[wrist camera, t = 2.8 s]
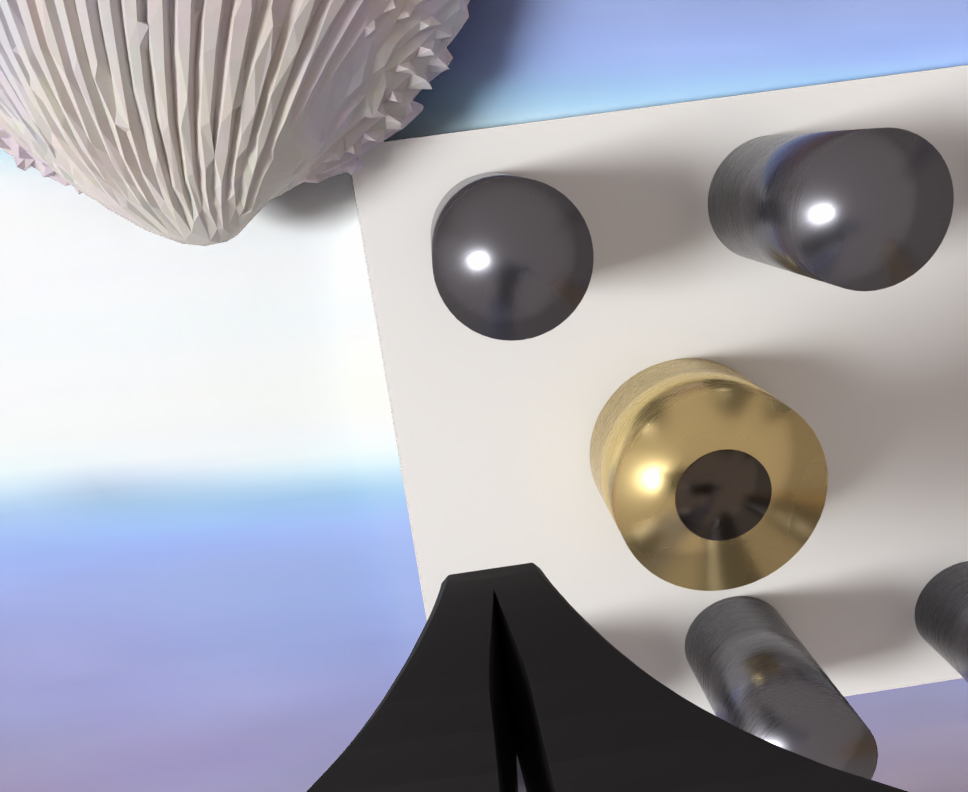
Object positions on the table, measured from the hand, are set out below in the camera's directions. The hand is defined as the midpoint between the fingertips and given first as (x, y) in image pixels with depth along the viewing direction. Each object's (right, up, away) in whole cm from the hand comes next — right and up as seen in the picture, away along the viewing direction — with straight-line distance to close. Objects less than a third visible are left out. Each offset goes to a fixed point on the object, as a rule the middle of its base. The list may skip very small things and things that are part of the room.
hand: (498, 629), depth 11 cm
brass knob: (+4, +2, +6) cm, 7 cm away
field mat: (+8, +3, +6) cm, 11 cm away
